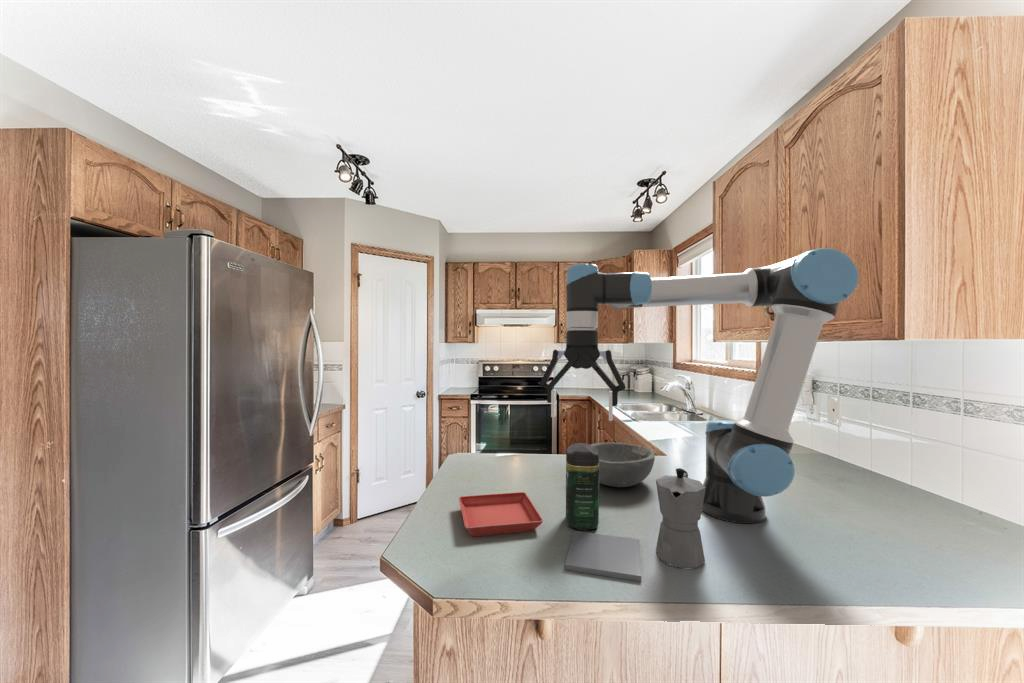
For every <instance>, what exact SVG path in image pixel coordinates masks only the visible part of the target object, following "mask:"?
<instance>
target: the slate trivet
mask: <svg viewBox="0 0 1024 683" xmlns="http://www.w3.org/2000/svg"><path fill="white" fill-rule="evenodd" d="M640 541H641V540H640V539H639V538H632V537H625V536H617V535H610V534H603V533H602V534H601V533H594V532H593V533H592V532H587V531H586V532H585V531H577V530H574V531H573V535H572V538H571V542H570V545H569V550H568V552H567V556H566V559H565V562H564V570H566V571H571V572H578V573H585V574H591V575H598V576H603V577H609V578H615V579H623V580H629V581H635V582H636V581H637V582H642V564H641V563H642V562H641V561H642V560H641V546H640V545H641V544H640Z"/></svg>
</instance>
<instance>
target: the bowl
mask: <svg viewBox="0 0 1024 683" xmlns="http://www.w3.org/2000/svg"><path fill="white" fill-rule="evenodd" d="M590 445H591V446H593V447H594V448H596V449H597V451H598V454H599V484H600V485H601V484H602V485H604V486H608V487H613V488H614V487H615V488H629V487H633V486H637V484H640V483H641V482H643V481H644V480H645V479H646V478H648V476H649V475H650V474H651V472H652V469H653V467H654V463H655V459H656V456H655V453H654V451H653V450H652V449H650V448H649V447H646V446H641V445H638V444H629V443H623V442H600V443H599V442H596V443H591V444H590Z"/></svg>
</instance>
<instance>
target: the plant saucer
mask: <svg viewBox="0 0 1024 683" xmlns="http://www.w3.org/2000/svg"><path fill="white" fill-rule="evenodd" d="M458 501H459V502H458V503H459V506H460V510H461V515H462V519H463V525H464V528H465V530H466V531H467V532H468V533H469V534H470V535H471V536H473V537H480V536H482V537H483V536H491V535H500V534H501V535H502V534H510V533H521V532H531V531H532V532H533V531H534V530H536V529H537V528H538V527H539V526H540V525H541V524H542V523H543V522H544V519H543V517H542V516H541V515H540V512H539V511H538V510H537V508H536V507H535V505H534V503H533V502H532V501H531V499H530V497H529V496H528V494H527V493H526V492H525V491H521V492H520V491H519V492H506V493H494V494H493V493H492V494H491V493H488V494H477V495H464V496H463V495H461V496H459V497H458Z"/></svg>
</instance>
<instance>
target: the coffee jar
mask: <svg viewBox="0 0 1024 683" xmlns="http://www.w3.org/2000/svg"><path fill="white" fill-rule="evenodd" d="M565 452H566V454H565V521H566V522H565V523H566V524H567V526H568V527H570V528H574V529H576V530H580V531H589V530H593V529H597V527H598V526H599V521H600V520H599V517H600V516H599V515H600V513H599V512H600V508H599V507H600V503H599V502H600V483H599V454H598V451H597V449H596V448H594V447H593V446H591V444H590V443H583V442H580V443H579V442H574V443H573V444H570V446H568V447H567V449H566V451H565Z"/></svg>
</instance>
